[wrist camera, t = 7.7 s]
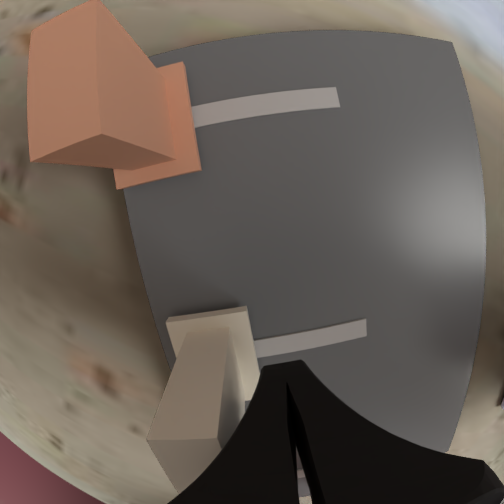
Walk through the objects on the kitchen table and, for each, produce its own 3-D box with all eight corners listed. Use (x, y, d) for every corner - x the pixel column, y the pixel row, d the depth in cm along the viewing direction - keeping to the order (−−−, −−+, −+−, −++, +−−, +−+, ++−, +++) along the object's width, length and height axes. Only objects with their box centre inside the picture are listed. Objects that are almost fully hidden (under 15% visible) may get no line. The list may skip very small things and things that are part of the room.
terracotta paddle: (185, 66, 9) (130, -31, 3) (201, 170, 10) (145, 151, 4) (109, 88, 9) (11, 28, 4) (121, 189, 10) (9, 198, 4)
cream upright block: (246, 305, 11) (246, 418, 5) (263, 391, 12) (272, 509, 6) (168, 317, 11) (110, 422, 5) (194, 398, 12) (169, 512, 6)
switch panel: (436, 51, 11) (453, 41, 9) (439, 438, 16) (448, 451, 14) (122, 80, 11) (108, 69, 9) (229, 488, 16) (228, 505, 14)
